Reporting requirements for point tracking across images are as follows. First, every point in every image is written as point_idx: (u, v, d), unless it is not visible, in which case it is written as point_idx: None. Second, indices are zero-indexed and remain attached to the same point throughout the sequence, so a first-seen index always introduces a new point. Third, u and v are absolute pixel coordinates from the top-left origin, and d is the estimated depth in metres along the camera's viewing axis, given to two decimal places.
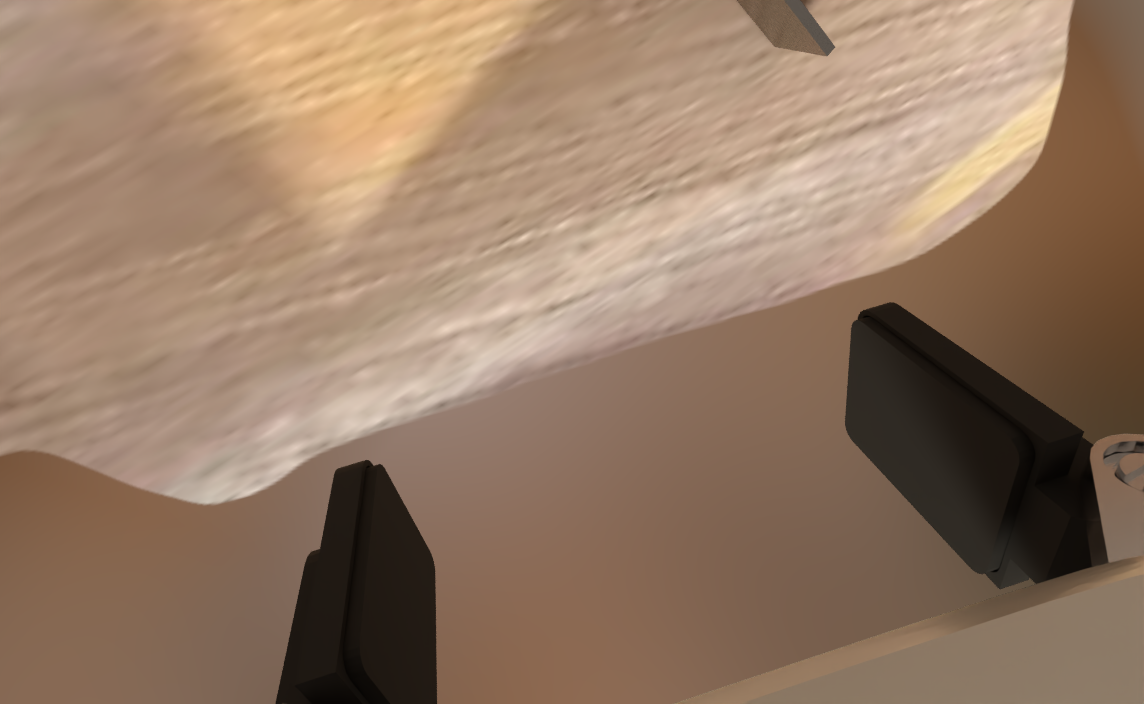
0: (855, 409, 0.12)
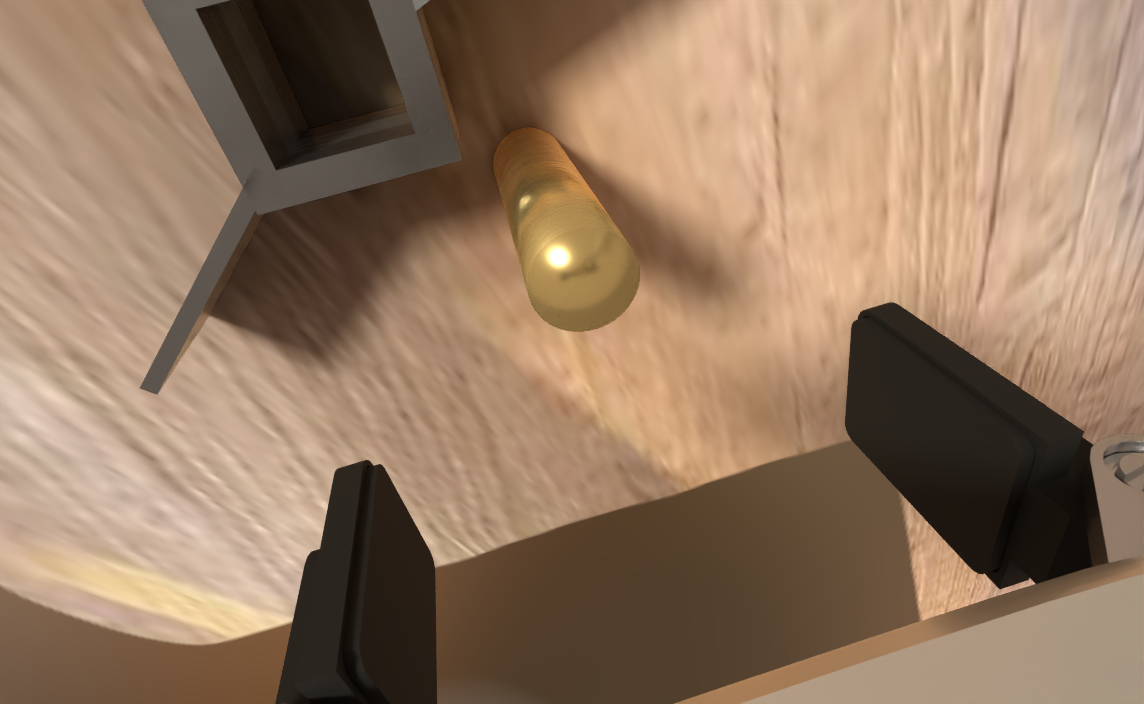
0: (855, 410, 0.12)
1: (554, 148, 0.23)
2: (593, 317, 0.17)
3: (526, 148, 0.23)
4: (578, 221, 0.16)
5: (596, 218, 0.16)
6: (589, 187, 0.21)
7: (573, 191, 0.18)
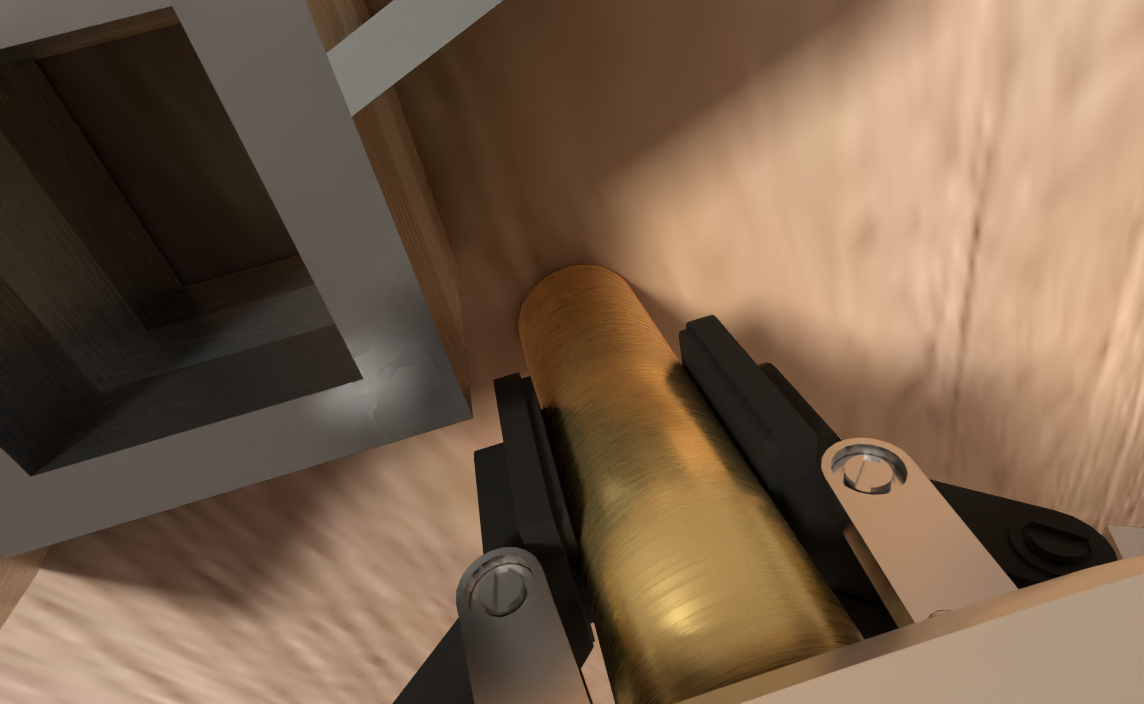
0: None
1: (642, 330, 0.12)
2: None
3: (590, 334, 0.12)
4: None
5: None
6: None
7: (754, 548, 0.07)
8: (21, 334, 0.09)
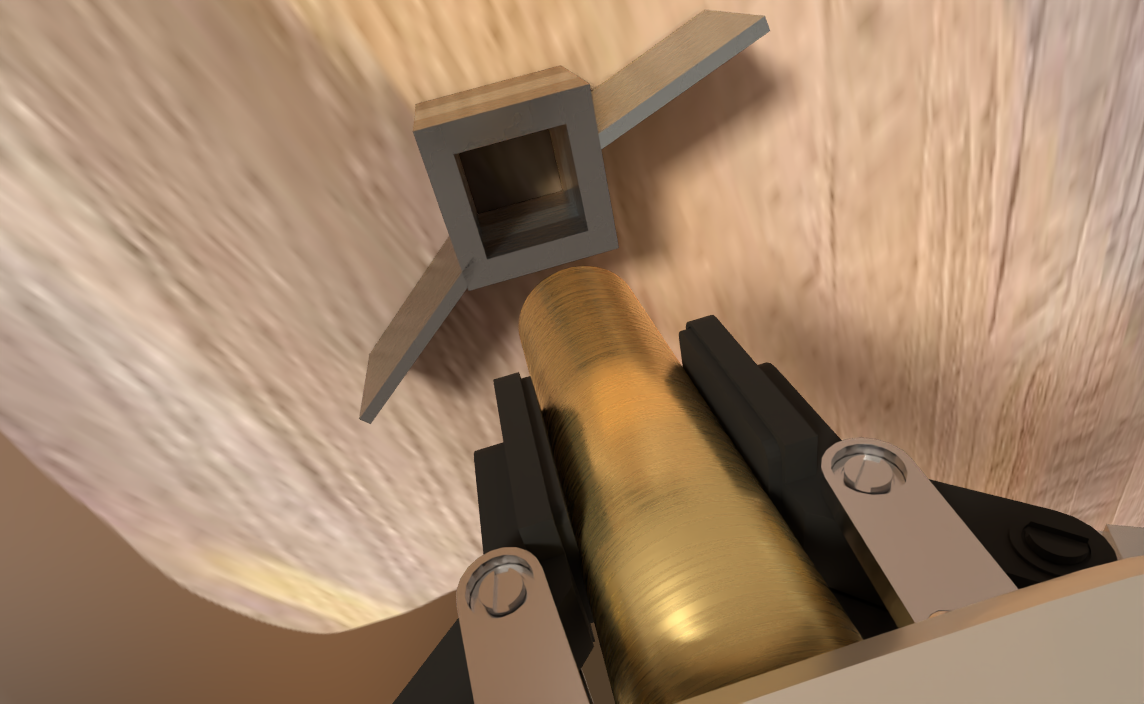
0: None
1: (642, 332, 0.12)
2: None
3: (591, 335, 0.12)
4: None
5: None
6: (742, 457, 0.10)
7: (754, 550, 0.07)
8: (475, 217, 0.26)
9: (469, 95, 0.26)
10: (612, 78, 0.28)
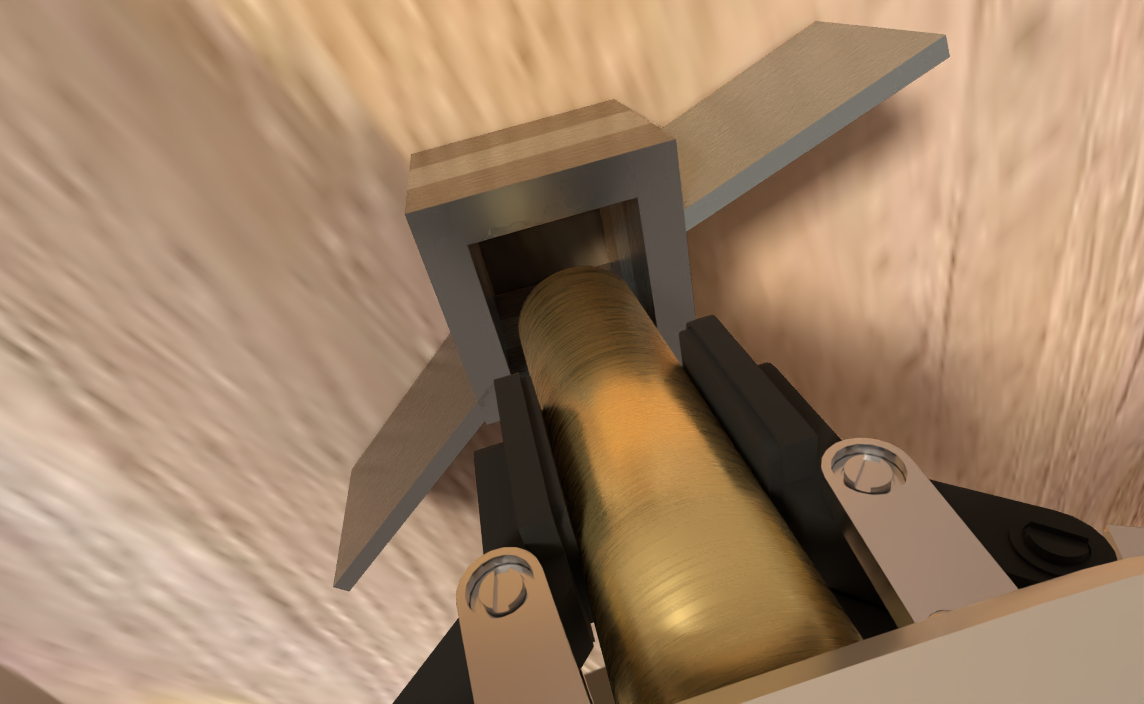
0: None
1: (642, 332, 0.12)
2: None
3: (591, 335, 0.12)
4: None
5: None
6: (741, 457, 0.10)
7: (754, 550, 0.07)
8: (496, 320, 0.18)
9: (487, 144, 0.18)
10: (685, 116, 0.20)
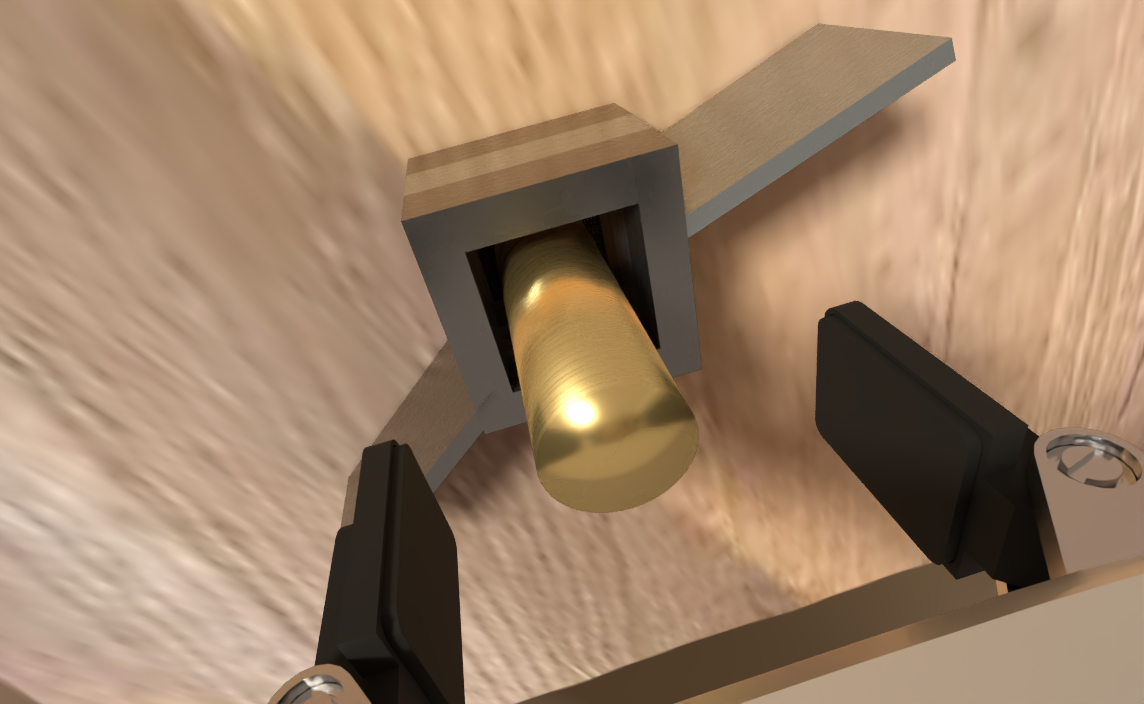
0: (824, 405, 0.12)
1: None
2: (630, 494, 0.12)
3: None
4: (611, 371, 0.11)
5: (636, 361, 0.11)
6: (617, 282, 0.15)
7: (599, 304, 0.13)
8: (494, 328, 0.18)
9: (485, 149, 0.18)
10: (685, 120, 0.20)
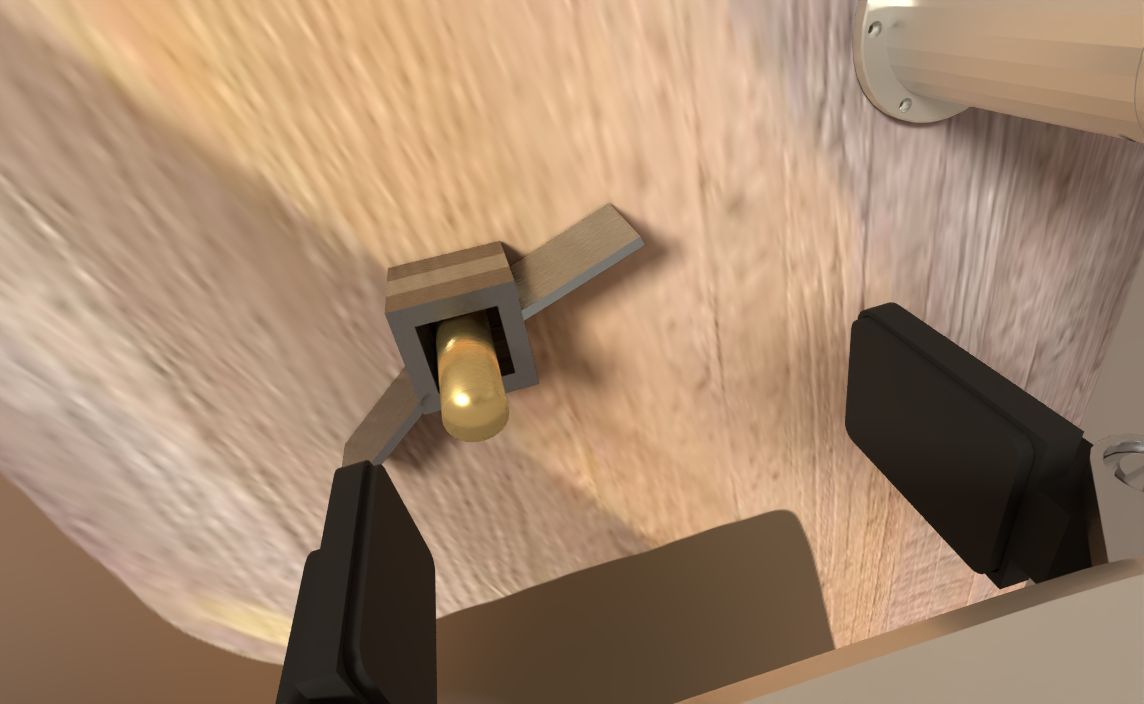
0: (856, 410, 0.12)
1: None
2: (482, 434, 0.29)
3: None
4: (471, 382, 0.28)
5: (483, 379, 0.28)
6: (489, 341, 0.33)
7: (474, 353, 0.30)
8: (430, 360, 0.35)
9: (429, 268, 0.35)
10: (539, 250, 0.37)
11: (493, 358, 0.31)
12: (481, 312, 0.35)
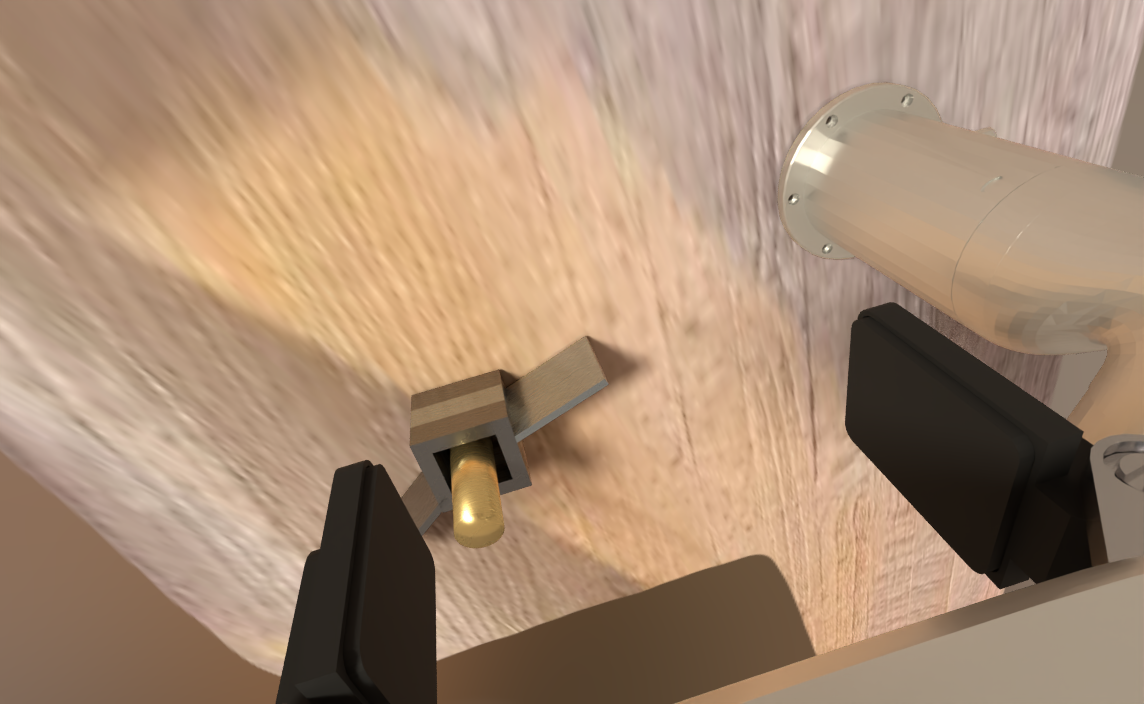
0: (855, 409, 0.12)
1: None
2: (485, 542, 0.39)
3: None
4: (475, 508, 0.37)
5: (484, 503, 0.38)
6: (490, 460, 0.42)
7: (478, 478, 0.40)
8: (446, 470, 0.45)
9: (443, 397, 0.45)
10: (530, 374, 0.47)
11: (493, 478, 0.41)
12: None
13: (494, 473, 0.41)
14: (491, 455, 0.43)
